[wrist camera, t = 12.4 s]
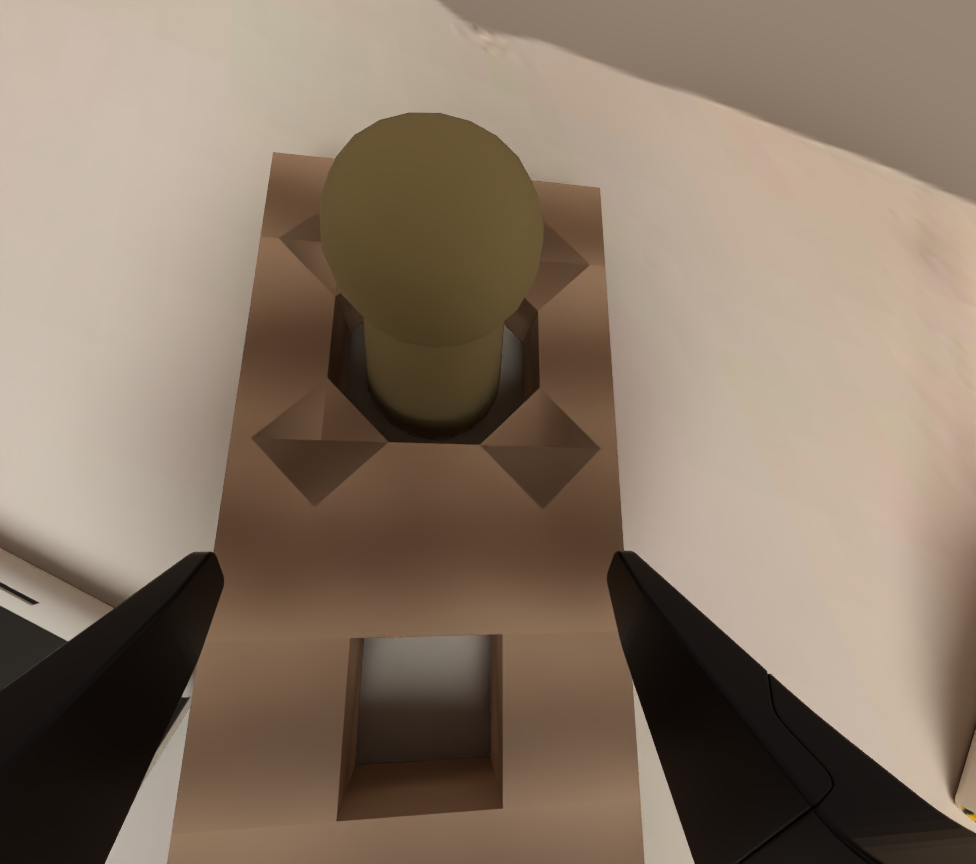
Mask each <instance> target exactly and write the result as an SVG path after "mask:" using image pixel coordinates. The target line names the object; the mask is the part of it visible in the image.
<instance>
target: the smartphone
mask: <svg viewBox="0 0 976 864" xmlns="http://www.w3.org/2000/svg"><path fill="white" fill-rule="evenodd" d="M112 609H114V608H113V607H111V606H109V605H107V604H105V603H103V602H101V601H100V600H98V599H96V598H94V597H92V596H90V595H88V594H86V593H84V592H83V591H81V590H79V589H77V588H75V587H73V586H71V585H69V584H67V583H66V582H64V581H62V580H60V579H58V578H56V577H54V576H52V575H50V574H49V573H47V572H45V571H43V570H41V569H39V568H37V567H35V566H34V565H32V564H30V563H28V562H26V561H24V560H22V559H20V558H18V557H17V556H15V555H13V554H11V553H9V552H7V551H5V550H3V549H1V548H0V690H2V689H3V688H4V687H6V686H7V685H8V684H10V683H11V682H13V681H14V680H15V679H17V678H18V677H20V676H21V675H22V674H24V673H25V672H26V671H28V670H29V669H31V668H32V667H33V666H35V665H36V664H38V663H39V662H40V661H42V660H43V659H44V658H46V657H47V656H49V655H50V654H51V653H53V652H54V651H56V650H57V649H58V648H60V647H61V646H62V645H64V644H65V643H67V642H68V641H69V640H71V639H72V638H74V637H75V636H76V635H78V634H79V633H80V632H82V631H83V630H85V629H86V628H87V627H89V626H90V625H92V624H93V623H94V622H96V621H97V620H99V619H100V618H101V617H103V616H104V615H105V614H107V613H108V612H110V611H111V610H112ZM196 667H197V664H196V666H195V669H194V671H193V673H192V675H191V678H190V680H189V682H188V684H187V686H186V688H185V691H184V693H183V695H182V697H181V699H180V701H179V704H178V706H177V708H176V710H175V712H174V714H173V717H172V719H171V721H170V723H169V725H168V727H167V730H166V732H165V734H164V736H163V738H162V740H161V743H160V745H159V747H158V749H157V751H156V753H155V756H154V758H153V760H152V762H151V764H150V766H149V769H148V771H147V773H146V775H145V777H144V779H143V781H144V780H145V778H146V777H147V775H148V773H149V772H150V770H151V769H152V767H153V765H154V764H155V762H156V760H157V759H158V757H159V756H160V754H161V752H162V751H163V749H164V748H165V746H166V744H167V743H168V741H169V740H170V738H171V736H172V735H173V733H174V732H175V730H176V728H177V727H178V725H179V723H180V722H181V720H182V719H183V717H184V715H185V714H186V712H187V711H188V709H189V707H190V706H191V701H192V694H193V687H194V681H195V674H196ZM142 783H143V782H142ZM141 785H142V784H141Z"/></svg>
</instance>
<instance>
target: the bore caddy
mask: <svg viewBox="0 0 976 864" xmlns="http://www.w3.org/2000/svg"><path fill="white" fill-rule="evenodd" d="M334 160H335V159H330V158H321V157H312V156H303V155H294V154H285V153H275V152H273V157H272V164H271V171H270V178H269V184H268V191H267V198H266V204H265V211H264V218H263V225H262V231H261V238H260V245H259V251H258V258H257V265H256V271H255V278H254V285H253V292H252V298H251V305H250V312H249V318H248V325H247V332H246V339H245V345H244V352H243V359H242V365H241V372H240V379H239V386H238V392H237V399H236V406H235V412H234V419H233V426H232V432H231V439H230V446H229V453H228V459H227V466H226V473H225V479H224V486H223V493H222V500H221V506H220V513H219V520H218V526H217V533H216V540H215V547H214V553H215V554H216V556H217V558H218V561H219V564H220V567H221V569H222V572H223V575H224V587H223V590H222V593H221V596H220V599H219V602H218V605H217V608H216V611H215V614H214V617H213V620H212V623H211V626H210V629H209V631H208V634H207V637H206V640H205V643H204V646H203V649H202V652H201V654H200V657H199V660H198V662H197V667H196V674H195V681H194V687H193V694H192V701H191V707H190V714H189V721H188V728H187V734H186V741H185V748H184V754H183V761H182V768H181V775H180V781H179V788H178V795H177V801H176V808H175V815H174V822H173V828H172V835H171V842H170V848H169V855H168V862H167V864H644V850H643V835H642V819H641V804H640V789H639V774H638V759H637V744H636V728H635V713H634V698H633V683H632V676H631V673H630V670H629V667H628V664H627V661H626V658H625V655H624V652H623V649H622V646H621V642H620V638H619V634H618V629H617V625H616V620H615V616H614V612H613V607H612V603H611V598H610V594H609V589H608V585H607V572H608V569H609V567H610V564H611V561H612V558H613V555H614V553H615V552H616V551H624V546H623V531H622V516H621V501H620V486H619V470H618V455H617V440H616V425H615V410H614V395H613V379H612V364H611V349H610V334H609V319H608V304H607V288H606V273H605V258H604V243H603V228H602V213H601V197H600V188H596V187H587V186H577V185H568V184H559V183H550V182H541V181H532V180H531V181H532V183H533V185H534V187H535V190H536V192H537V194H538V197H539V202H540V207H541V213H542V218H543V224H544V233H543V246H542V252H541V257H540V263H539V269H538V272H537V274H536V277H535V279H534V281H533V284H532V285H531V287H530V289H529V291H528V292H527V294H526V296H525V297H524V299H523V301H522V302H521V304H520V306H519V308H518V309H517V310H516V311H515V312H514V313H513V314H512V315H511V316H510V317H508V318H507V319H506V320H505V321H504V324H505V325H506V326H507V327H508V328H509V329H510V330H511V331H512V332H513V333H514V334H515V335H516V336H517V337H518V338H519V339H520V340H521V341H522V342H523V383H524V403H523V404H522V405H521V406H520V407H519V408H518V409H517V410H516V411H515V412H514V413H513V414H512V415H511V416H510V417H509V418H508V419H506V420H505V421H504V422H503V423H502V424H501V425H500V426H499V427H498V428H497V429H496V430H495V431H494V432H493V433H492V434H491V435H490V436H489V437H487V438H486V439H485V440H484V441H483V442H482V443H481V444H480V445H467V444H433V443H400V442H388V441H387V440H386V439H385V438H384V437H383V436H382V435H381V434H380V433H379V432H378V431H377V430H376V428H375V427H374V426H373V425H372V424H371V423H370V422H369V421H368V420H367V419H366V418H365V417H364V416H363V415H362V414H361V413H360V412H359V411H358V410H357V409H356V407H355V406H354V405H353V404H352V403H351V402H350V401H349V400H348V399H347V398H346V397H345V390H346V378H347V367H348V356H349V344H350V333H351V331H353V330H354V329H355V328H356V327H358V326H359V325H360V324H362V323H363V316H362V315H361V314H360V313H359V312H358V311H357V310H356V309H355V308H354V307H353V306H352V305H351V304H350V302H349V301H348V300H347V299H346V298H345V297H344V296H343V295H342V294H341V292H340V290H339V287H338V285H337V283H336V281H335V279H334V276H333V274H332V272H331V270H330V267H329V265H328V263H327V261H326V258H325V256H324V254H323V251H322V249H321V232H320V212H319V199H320V196H321V193H322V190H323V187H324V184H325V181H326V178H327V175H328V172H329V170H330V168H331V166H332V164H333V162H334ZM454 635H491V717H490V757H477V758H460V759H444V760H428V761H412V762H396V763H380V764H364V765H355V760H356V745H357V730H358V716H359V701H360V686H361V671H362V656H363V641H364V638H377V637H416V636H454Z"/></svg>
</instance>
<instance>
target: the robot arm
mask: <svg viewBox="0 0 976 864" xmlns="http://www.w3.org/2000/svg"><path fill="white" fill-rule="evenodd" d="M607 585H608V589H609V594H610V598H611V603H612V607H613V612H614V616H615V620H616V625H617V629H618V634H619V638H620V642H621V646H622V649H623V652H624V655H625V658H626V661H627V664H628V667H629V670H630V673H631V676H632V679H633V682H634V685H635V688H636V691H637V694H638V697H639V700H640V703H641V706H642V709H643V712H644V715H645V718H646V721H647V724H648V727H649V730H650V732H651V735H652V738H653V741H654V744H655V747H656V750H657V753H658V756H659V759H660V762H661V765H662V768H663V771H664V774H665V777H666V780H667V783H668V786H669V789H670V792H671V795H672V798H673V801H674V804H675V807H676V810H677V812H678V815H679V818H680V821H681V824H682V827H683V830H684V833H685V836H686V839H687V842H688V845H689V848H690V851H691V854H692V857H693V860H694V863H695V864H976V833H974V832H972V831H971V830H969V829H967V828H965V827H963V826H962V825H960V824H958V823H957V822H955V821H954V820H952V819H950V818H949V817H947V816H946V815H944V814H943V813H941V812H940V811H938V810H937V809H935V808H934V807H933V806H931V805H930V804H929V803H927V802H926V801H925V800H923V799H922V798H921V797H920V796H918V795H917V794H916V793H915V792H913V791H912V790H911V789H909V788H908V787H907V786H906V785H904V784H903V783H902V782H901V781H899V780H898V779H897V778H896V777H894V776H893V775H892V774H891V773H889V772H888V771H887V770H886V769H884V768H883V767H882V766H880V765H879V764H878V763H877V762H875V761H874V760H873V759H872V758H870V757H869V756H868V755H867V754H865V753H864V752H863V751H862V750H860V749H859V748H858V747H857V746H855V745H854V744H853V743H851V742H850V741H849V740H848V739H846V738H845V737H844V736H843V735H842V734H840V733H839V732H838V731H837V730H835V729H834V728H833V727H832V726H830V725H829V724H828V723H827V722H826V721H824V720H823V719H822V718H821V717H819V716H818V715H817V714H816V713H815V712H813V711H812V710H811V709H810V708H809V707H808V706H806V705H805V704H804V703H803V702H802V701H801V700H800V699H798V698H797V697H796V696H795V695H794V694H793V693H791V692H790V691H789V690H788V689H787V688H786V687H785V686H784V685H782V684H781V683H780V682H779V681H778V680H777V679H776V678H775V677H773V676H772V675H771V674H768V673H767V671H766V669H764V668H763V667H762V666H761V665H760V664H759V663H758V662H757V661H755V660H754V659H753V658H752V657H751V656H750V655H749V654H748V653H747V652H745V651H744V650H743V649H742V648H741V647H740V646H739V645H738V644H736V643H735V642H734V641H733V640H732V639H731V638H730V637H729V636H728V635H726V634H725V633H724V632H723V631H722V630H721V629H720V628H719V627H717V626H716V625H715V624H714V623H713V622H712V621H711V620H710V619H709V618H707V617H706V616H705V615H704V614H703V613H702V612H701V611H700V610H698V609H697V608H696V607H695V606H694V605H693V604H692V603H691V602H690V601H688V600H687V599H686V598H685V597H684V596H683V595H682V594H681V593H680V592H678V591H677V590H676V589H675V588H674V587H673V586H672V585H671V584H669V583H668V582H667V581H666V580H665V579H664V578H663V577H662V576H661V575H659V574H658V573H657V572H656V571H655V570H654V569H653V568H652V567H650V566H649V565H648V564H647V563H646V562H645V561H644V560H643V559H642V558H640V557H639V556H638V555H637V554H636V553H635V552H633V551H616V552H615V553H614V555H613V558H612V561H611V564H610V567H609V569H608V572H607ZM223 587H224V575H223V572H222V569H221V567H220V564H219V561H218V558H217V556H216V554H215V553H213V552H193V553H191V554H189V555H187V556H186V557H184V558H183V559H182V560H180V561H179V562H177V563H176V564H175V565H173V566H172V567H171V568H169V569H168V570H166V571H165V572H164V573H162V574H161V575H159V576H158V577H157V578H155V579H154V580H153V581H151V582H150V583H148V584H147V585H146V586H144V587H143V588H141V589H140V590H139V591H137V592H136V593H135V594H133V595H132V596H130V597H129V598H128V599H126V600H125V601H123V602H122V603H121V604H119V605H118V606H117V607H115V608H114V609H112V610H111V611H110V612H108V613H107V614H105V615H104V616H103V617H101V618H100V619H99V620H97V621H96V622H94V623H93V624H92V625H90V626H89V627H87V628H86V629H85V630H83V631H82V632H80V633H79V634H78V635H76V636H75V637H74V638H72V639H71V640H69V641H68V642H67V643H65V644H64V645H62V646H61V647H60V648H58V649H57V650H56V651H54V652H53V653H51V654H50V655H49V656H47V657H46V658H44V659H43V660H42V661H40V662H39V663H38V664H36V665H35V666H33V667H32V668H31V669H29V670H28V671H26V672H25V673H24V674H22V675H21V676H20V677H18V678H17V679H15V680H14V681H13V682H11V683H10V684H8V685H7V686H6V687H4V688H3V689H2V690H0V864H105V862H106V859H107V857H108V855H109V853H110V851H111V849H112V846H113V844H114V842H115V840H116V838H117V836H118V833H119V831H120V829H121V827H122V825H123V823H124V820H125V818H126V816H127V814H128V812H129V810H130V807H131V805H132V803H133V801H134V799H135V797H136V795H137V792H138V790H139V788H140V786H141V784H142V782H143V779H144V777H145V775H146V773H147V771H148V769H149V766H150V764H151V762H152V760H153V758H154V756H155V753H156V751H157V749H158V747H159V745H160V743H161V740H162V738H163V736H164V734H165V732H166V730H167V727H168V725H169V723H170V721H171V719H172V717H173V714H174V712H175V710H176V708H177V706H178V704H179V701H180V699H181V697H182V695H183V693H184V691H185V688H186V686H187V684H188V682H189V680H190V678H191V675H192V673H193V671H194V669H195V666H196V664H197V662H198V660H199V657H200V654H201V652H202V649H203V646H204V643H205V640H206V637H207V634H208V631H209V629H210V626H211V623H212V620H213V617H214V614H215V611H216V608H217V605H218V602H219V599H220V596H221V593H222V590H223Z"/></svg>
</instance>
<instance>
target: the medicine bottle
mask: <svg viewBox="0 0 976 864" xmlns="http://www.w3.org/2000/svg"><path fill="white" fill-rule="evenodd" d="M955 803H956V805H957V807H958V808H959V810H960V811H962V812H963V813H964V814H965V815H967V816H968V817H969V818H971V819H972V820H973V821H975V822H976V730H975V733H974V736H973V740H972V743H971V746H970V750H969V753H968V756H967V760H966V763H965V766H964V770H963V773H962V776H961V780H960V783H959V786H958V790H957V793H956V796H955Z"/></svg>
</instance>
